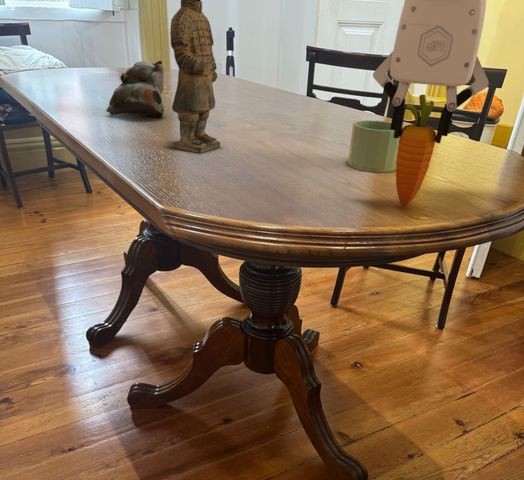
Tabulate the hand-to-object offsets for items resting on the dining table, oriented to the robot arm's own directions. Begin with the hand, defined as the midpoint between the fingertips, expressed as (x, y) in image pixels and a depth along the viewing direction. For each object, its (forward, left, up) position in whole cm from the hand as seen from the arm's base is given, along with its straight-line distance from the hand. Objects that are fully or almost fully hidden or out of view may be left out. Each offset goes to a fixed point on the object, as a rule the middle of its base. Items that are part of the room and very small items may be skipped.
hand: (417, 137), depth 71 cm
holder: (+8, -22, -10) cm, 25 cm away
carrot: (0, 0, -10) cm, 10 cm away
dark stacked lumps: (+68, -40, -10) cm, 80 cm away
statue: (+42, -18, -10) cm, 47 cm away
